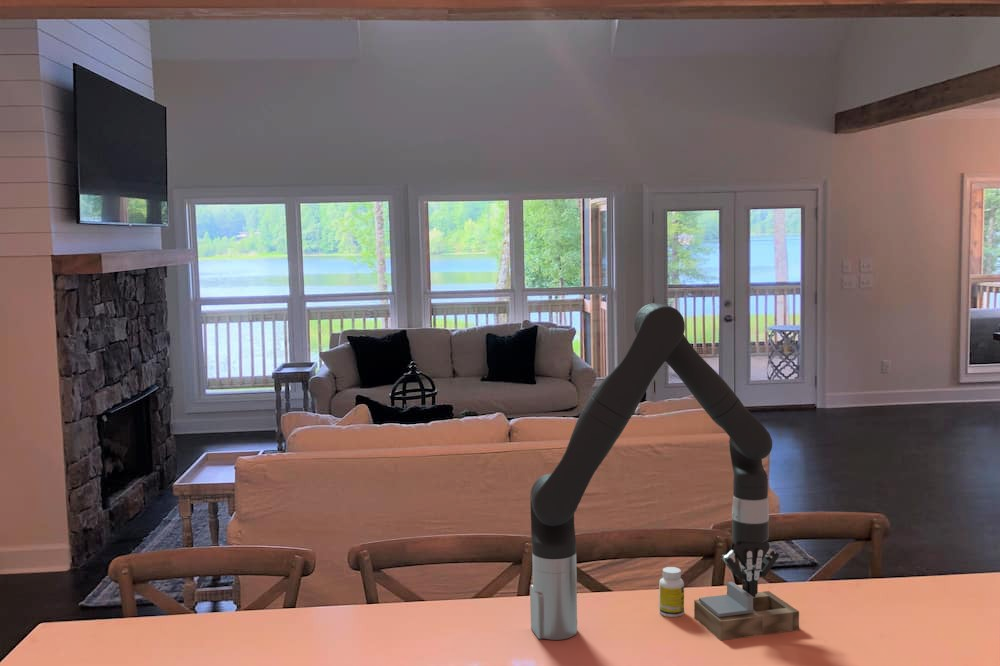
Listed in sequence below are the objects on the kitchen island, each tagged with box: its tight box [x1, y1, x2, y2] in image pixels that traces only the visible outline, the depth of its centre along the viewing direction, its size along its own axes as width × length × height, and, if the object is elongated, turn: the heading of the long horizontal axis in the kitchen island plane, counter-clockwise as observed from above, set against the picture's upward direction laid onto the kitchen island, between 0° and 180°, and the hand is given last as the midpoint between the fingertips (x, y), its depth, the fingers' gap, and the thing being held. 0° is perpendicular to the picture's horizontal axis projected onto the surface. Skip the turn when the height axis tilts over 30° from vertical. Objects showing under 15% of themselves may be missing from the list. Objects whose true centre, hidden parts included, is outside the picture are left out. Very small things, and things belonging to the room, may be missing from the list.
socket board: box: [693, 590, 800, 641], centre depth 194 cm, size 18×12×4 cm, turn 104°
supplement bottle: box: [658, 566, 685, 618], centre depth 201 cm, size 5×5×10 cm
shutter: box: [698, 581, 754, 617], centre depth 193 cm, size 8×9×4 cm
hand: (750, 596), depth 194 cm, fingers closed
